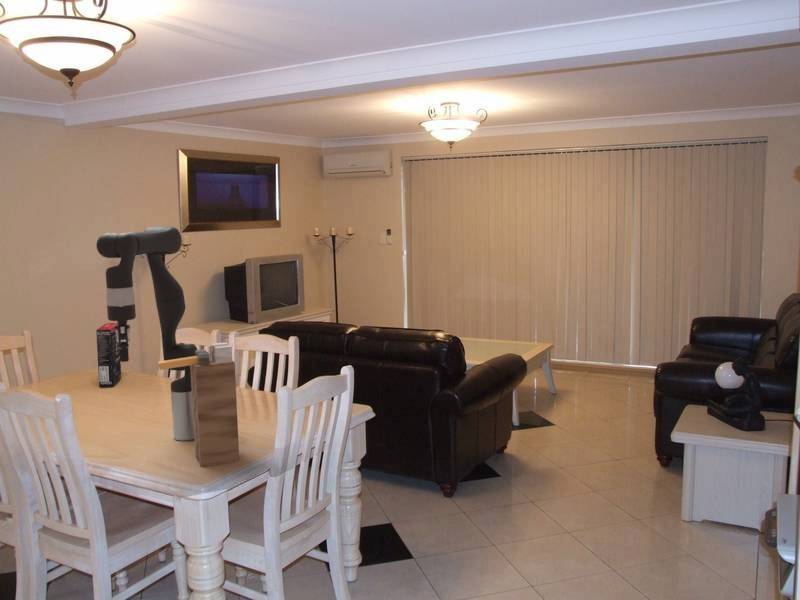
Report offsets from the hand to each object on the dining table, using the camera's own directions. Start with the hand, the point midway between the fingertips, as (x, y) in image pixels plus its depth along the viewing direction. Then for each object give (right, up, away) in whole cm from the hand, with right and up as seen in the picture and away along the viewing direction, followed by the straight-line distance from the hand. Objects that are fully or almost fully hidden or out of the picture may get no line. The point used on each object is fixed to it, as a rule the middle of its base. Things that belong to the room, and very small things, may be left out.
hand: (124, 358), depth 202 cm
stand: (+21, -34, +23) cm, 46 cm away
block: (+12, -3, +15) cm, 19 cm away
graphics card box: (-54, -22, +122) cm, 135 cm away
